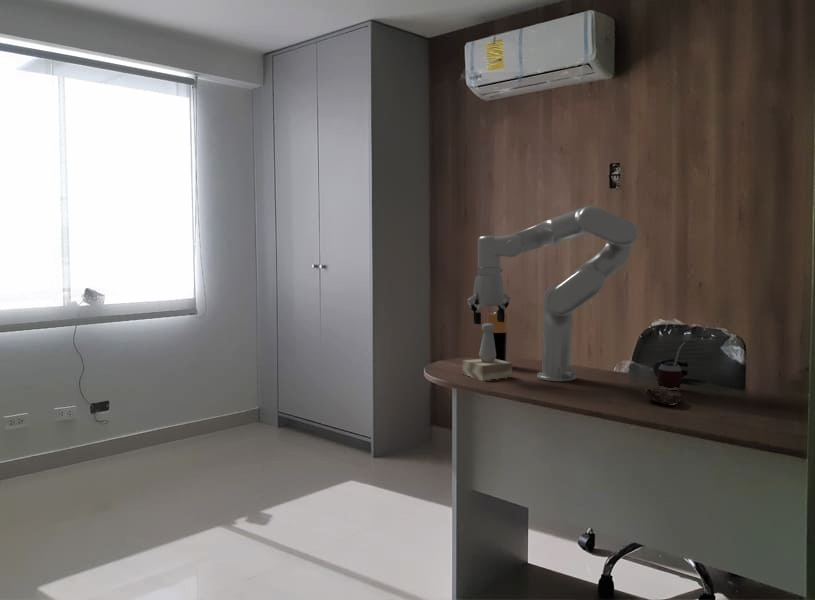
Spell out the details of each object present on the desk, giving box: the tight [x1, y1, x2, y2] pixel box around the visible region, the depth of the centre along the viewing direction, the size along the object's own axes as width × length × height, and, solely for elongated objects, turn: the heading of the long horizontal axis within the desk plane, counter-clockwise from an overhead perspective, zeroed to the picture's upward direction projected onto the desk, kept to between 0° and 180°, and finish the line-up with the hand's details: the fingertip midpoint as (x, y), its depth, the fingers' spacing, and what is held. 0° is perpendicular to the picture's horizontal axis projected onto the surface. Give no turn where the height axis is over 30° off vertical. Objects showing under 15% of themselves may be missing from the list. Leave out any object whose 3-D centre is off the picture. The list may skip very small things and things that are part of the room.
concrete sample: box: [643, 386, 683, 405], centre depth 195 cm, size 12×10×5 cm
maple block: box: [461, 358, 513, 382], centre depth 232 cm, size 12×12×5 cm
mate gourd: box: [657, 341, 687, 389], centre depth 212 cm, size 8×8×15 cm
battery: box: [486, 311, 508, 362], centre depth 250 cm, size 7×7×20 cm
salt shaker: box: [478, 323, 496, 363], centre depth 231 cm, size 6×6×13 cm
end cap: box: [653, 357, 689, 382], centre depth 229 cm, size 10×7×7 cm
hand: (489, 322), depth 230 cm, fingers open, 9 cm apart
